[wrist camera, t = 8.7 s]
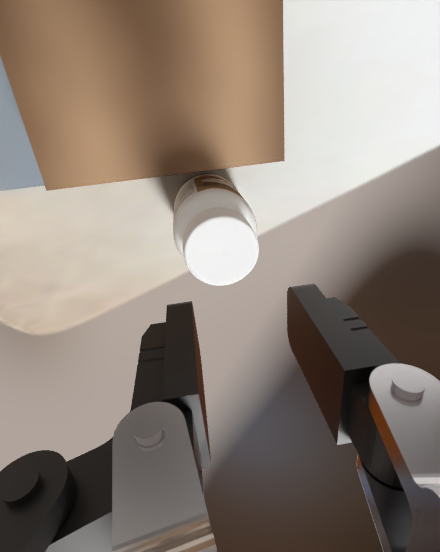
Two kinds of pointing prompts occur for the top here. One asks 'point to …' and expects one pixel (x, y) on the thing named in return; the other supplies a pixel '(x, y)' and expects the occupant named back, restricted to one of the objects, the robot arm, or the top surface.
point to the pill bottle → (215, 230)
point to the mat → (14, 143)
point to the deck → (145, 85)
